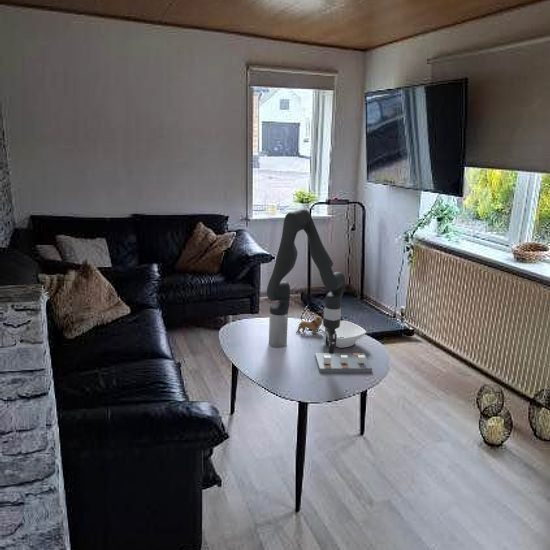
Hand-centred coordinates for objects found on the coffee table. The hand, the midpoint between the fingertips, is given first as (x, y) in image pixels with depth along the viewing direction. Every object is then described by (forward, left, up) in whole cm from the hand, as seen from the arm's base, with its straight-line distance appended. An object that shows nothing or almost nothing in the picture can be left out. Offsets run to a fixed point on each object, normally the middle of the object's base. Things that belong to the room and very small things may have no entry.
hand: (329, 349), depth 225 cm
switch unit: (-5, +8, -10) cm, 14 cm away
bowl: (-28, +12, -10) cm, 32 cm away
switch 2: (-3, +8, -8) cm, 11 cm away
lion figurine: (-43, -3, -10) cm, 45 cm away
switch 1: (-2, 0, -8) cm, 8 cm away
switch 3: (-3, +16, -8) cm, 18 cm away
